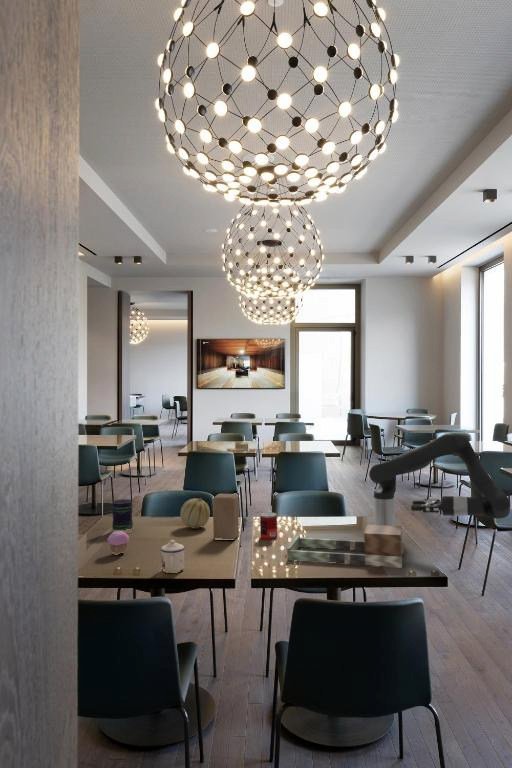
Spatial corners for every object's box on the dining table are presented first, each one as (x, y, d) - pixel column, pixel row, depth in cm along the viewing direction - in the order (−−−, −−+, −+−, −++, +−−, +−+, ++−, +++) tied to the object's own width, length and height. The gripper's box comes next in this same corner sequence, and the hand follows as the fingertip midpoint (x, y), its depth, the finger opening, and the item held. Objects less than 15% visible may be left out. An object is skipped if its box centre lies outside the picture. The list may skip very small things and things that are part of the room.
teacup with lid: (162, 567, 238) (161, 537, 238) (185, 566, 239) (184, 537, 238) (159, 577, 226) (158, 546, 226) (183, 576, 227) (183, 545, 226)
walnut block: (401, 555, 248) (401, 526, 248) (401, 565, 235) (400, 535, 235) (367, 553, 252) (367, 524, 252) (364, 563, 238) (364, 533, 238)
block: (234, 541, 273) (233, 497, 272) (213, 541, 275) (212, 497, 274) (239, 536, 282) (238, 493, 282) (218, 535, 284) (217, 493, 284)
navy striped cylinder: (110, 530, 296) (110, 500, 296) (130, 528, 301) (129, 498, 300) (114, 535, 287) (114, 504, 287) (135, 533, 292) (134, 502, 291)
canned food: (279, 536, 281) (278, 512, 281) (274, 540, 273) (273, 516, 273) (263, 535, 283) (263, 511, 283) (258, 539, 276) (257, 515, 276)
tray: (403, 552, 251) (403, 540, 251) (402, 567, 231) (401, 554, 231) (297, 546, 263) (297, 535, 263) (287, 560, 243) (287, 548, 243)
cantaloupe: (180, 525, 306) (180, 495, 305) (209, 523, 307) (209, 494, 307) (180, 532, 291) (179, 501, 291) (210, 531, 293) (210, 500, 292)
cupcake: (122, 550, 262) (121, 527, 262) (133, 554, 256) (132, 530, 256) (104, 554, 256) (103, 531, 256) (115, 558, 250) (114, 534, 250)
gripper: (454, 493, 241) (412, 493, 246) (454, 499, 227) (410, 499, 233) (455, 511, 241) (413, 511, 246) (455, 519, 227) (411, 518, 232)
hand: (412, 505), depth 239 cm, fingers open, 8 cm apart
